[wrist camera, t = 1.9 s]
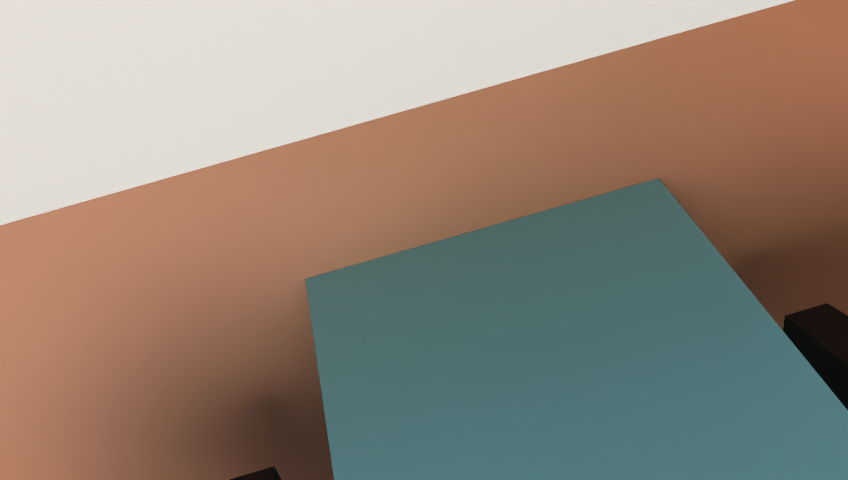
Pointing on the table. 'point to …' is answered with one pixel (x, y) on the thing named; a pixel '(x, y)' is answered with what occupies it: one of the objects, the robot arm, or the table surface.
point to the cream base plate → (265, 75)
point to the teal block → (567, 357)
